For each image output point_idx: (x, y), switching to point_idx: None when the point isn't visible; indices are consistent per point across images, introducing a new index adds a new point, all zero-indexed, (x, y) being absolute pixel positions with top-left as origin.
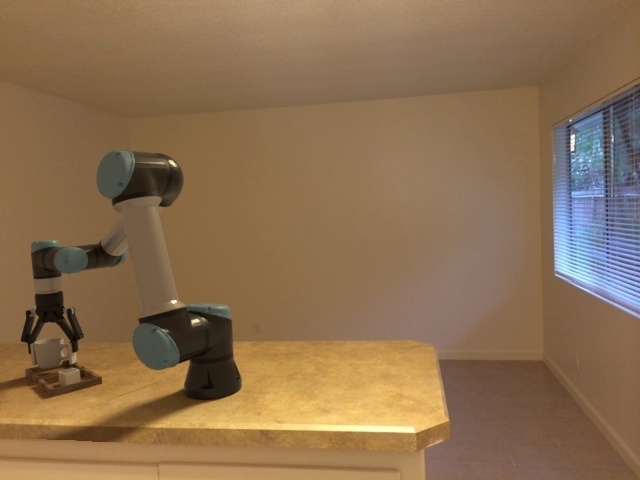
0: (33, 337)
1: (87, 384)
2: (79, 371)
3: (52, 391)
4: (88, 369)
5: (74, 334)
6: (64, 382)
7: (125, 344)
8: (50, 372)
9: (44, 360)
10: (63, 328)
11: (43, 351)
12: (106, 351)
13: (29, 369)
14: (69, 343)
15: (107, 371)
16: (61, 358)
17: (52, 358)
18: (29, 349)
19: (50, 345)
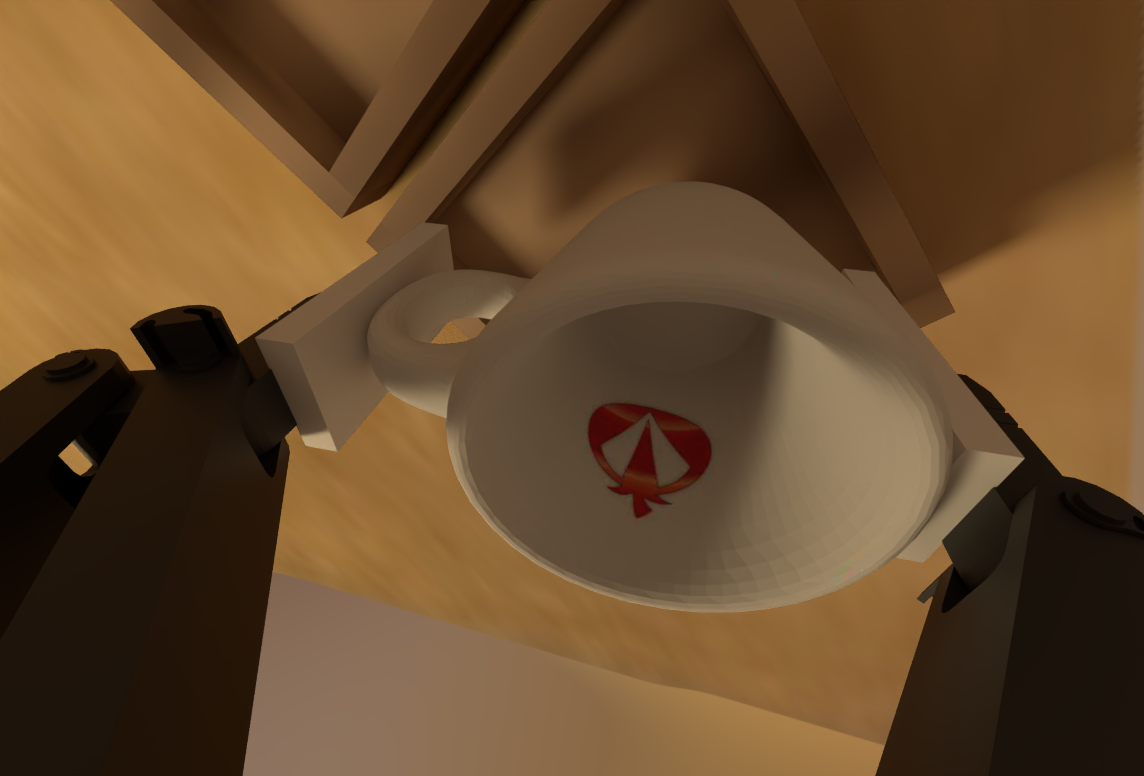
0: (1019, 584)
1: None
2: None
3: None
4: (272, 149)
5: (45, 426)
6: None
7: (503, 627)
8: None
9: (683, 190)
10: (82, 611)
11: (681, 221)
12: (539, 584)
13: (899, 285)
14: (274, 334)
15: (300, 271)
16: (521, 280)
17: (586, 227)
18: (995, 420)
19: (534, 282)
